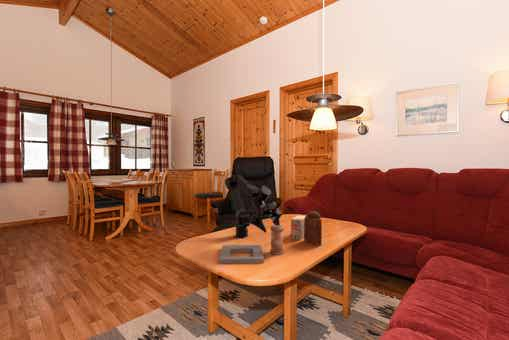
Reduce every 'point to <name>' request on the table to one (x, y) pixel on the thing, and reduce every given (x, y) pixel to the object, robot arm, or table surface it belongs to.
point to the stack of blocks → (297, 227)
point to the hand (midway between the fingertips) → (273, 230)
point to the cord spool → (277, 240)
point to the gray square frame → (238, 249)
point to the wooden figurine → (313, 228)
